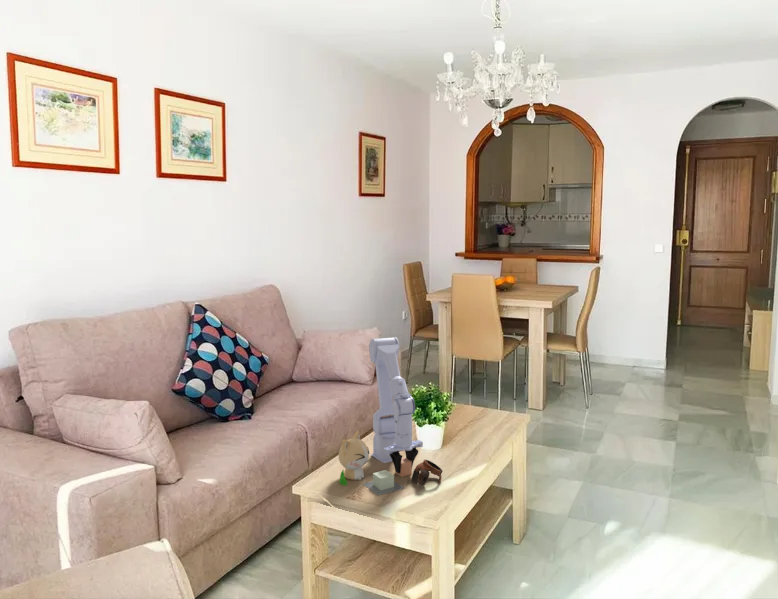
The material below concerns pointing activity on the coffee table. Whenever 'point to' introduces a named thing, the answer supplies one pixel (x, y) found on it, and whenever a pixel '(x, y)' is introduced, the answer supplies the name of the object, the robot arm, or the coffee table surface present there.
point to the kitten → (353, 458)
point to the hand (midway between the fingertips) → (403, 470)
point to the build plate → (380, 492)
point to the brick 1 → (383, 480)
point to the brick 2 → (405, 467)
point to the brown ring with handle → (425, 472)
